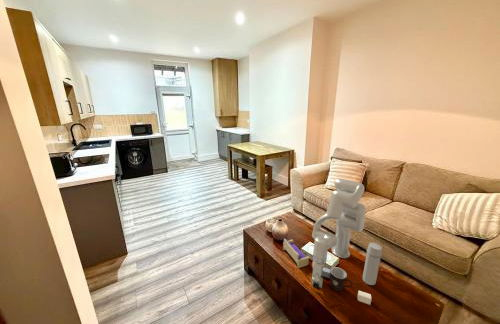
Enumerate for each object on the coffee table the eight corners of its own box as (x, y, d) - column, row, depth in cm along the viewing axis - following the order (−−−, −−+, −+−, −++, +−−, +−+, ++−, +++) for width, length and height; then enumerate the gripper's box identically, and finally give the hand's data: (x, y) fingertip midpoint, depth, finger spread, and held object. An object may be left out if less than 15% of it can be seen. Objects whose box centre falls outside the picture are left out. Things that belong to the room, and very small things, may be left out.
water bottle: (374, 288, 119) (381, 252, 113) (360, 281, 124) (366, 245, 118) (378, 279, 126) (385, 244, 119) (364, 272, 131) (370, 239, 125)
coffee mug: (325, 283, 123) (327, 269, 120) (336, 279, 126) (338, 265, 123) (340, 299, 112) (342, 284, 110) (352, 294, 115) (354, 280, 113)
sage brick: (311, 284, 122) (311, 278, 121) (312, 280, 125) (312, 275, 124) (321, 288, 119) (322, 282, 118) (322, 283, 122) (322, 278, 121)
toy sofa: (309, 265, 137) (310, 252, 134) (298, 269, 134) (299, 255, 131) (292, 246, 156) (292, 235, 153) (282, 249, 153) (282, 237, 150)
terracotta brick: (312, 266, 136) (312, 261, 135) (317, 266, 136) (317, 261, 135) (313, 272, 131) (313, 267, 130) (318, 273, 130) (319, 268, 129)
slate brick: (319, 275, 129) (319, 269, 128) (319, 271, 132) (320, 266, 131) (329, 278, 126) (329, 273, 125) (329, 274, 129) (330, 269, 128)
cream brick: (357, 300, 112) (358, 294, 111) (357, 296, 114) (358, 290, 113) (370, 305, 109) (371, 299, 108) (369, 300, 112) (370, 294, 111)
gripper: (315, 247, 127) (312, 269, 131) (310, 265, 111) (308, 290, 116) (327, 250, 124) (325, 273, 128) (325, 269, 108) (321, 295, 112)
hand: (317, 281), depth 122 cm, fingers open, 9 cm apart
